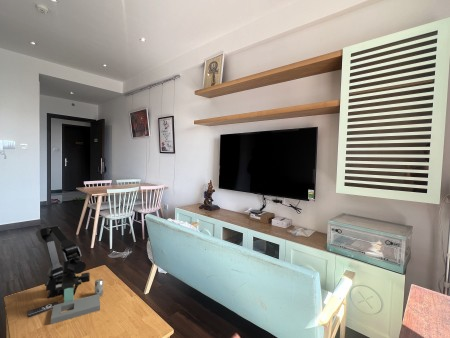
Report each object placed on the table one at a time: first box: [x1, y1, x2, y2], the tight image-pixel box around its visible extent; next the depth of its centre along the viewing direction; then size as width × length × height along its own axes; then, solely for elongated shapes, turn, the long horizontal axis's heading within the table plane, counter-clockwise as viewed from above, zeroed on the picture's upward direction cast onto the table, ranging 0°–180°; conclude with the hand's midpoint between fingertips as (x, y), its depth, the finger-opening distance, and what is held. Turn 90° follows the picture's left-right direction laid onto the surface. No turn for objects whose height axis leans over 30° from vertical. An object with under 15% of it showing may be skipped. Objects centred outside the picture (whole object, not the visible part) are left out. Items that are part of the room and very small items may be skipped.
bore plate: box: [50, 294, 101, 325], centre depth 111 cm, size 11×20×2 cm, turn 122°
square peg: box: [63, 287, 75, 303], centre depth 117 cm, size 4×4×8 cm
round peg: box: [94, 278, 104, 297], centre depth 124 cm, size 4×4×8 cm
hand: (69, 296), depth 117 cm, fingers closed on square peg, 4 cm apart
